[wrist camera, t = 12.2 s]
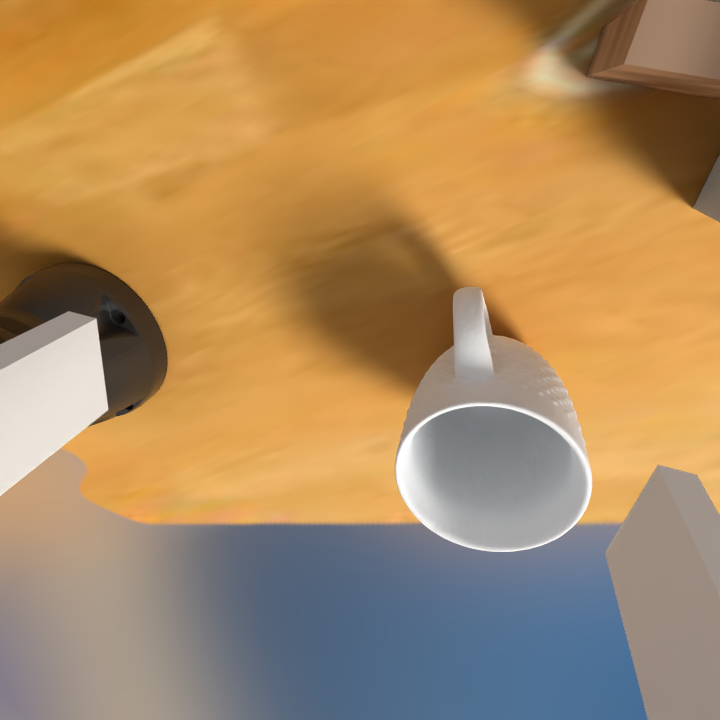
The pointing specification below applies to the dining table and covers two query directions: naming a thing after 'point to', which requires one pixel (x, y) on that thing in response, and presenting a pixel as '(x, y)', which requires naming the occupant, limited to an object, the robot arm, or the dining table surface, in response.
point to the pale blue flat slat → (710, 194)
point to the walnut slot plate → (663, 47)
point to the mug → (492, 442)
